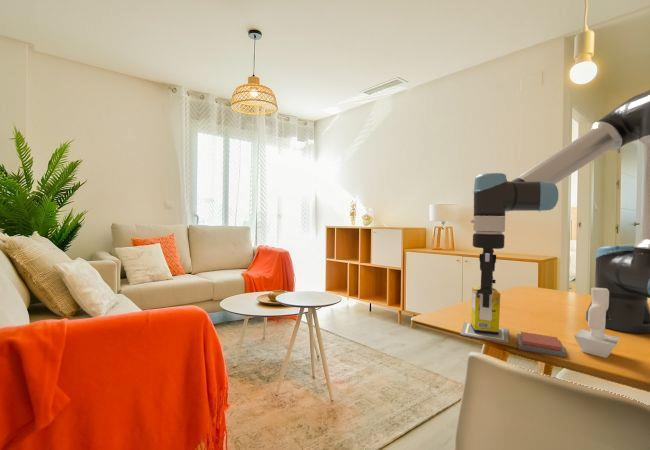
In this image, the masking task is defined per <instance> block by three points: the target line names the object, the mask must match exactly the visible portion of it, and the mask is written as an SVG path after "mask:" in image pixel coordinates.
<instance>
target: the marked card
mask: <svg viewBox="0 0 650 450" xmlns="http://www.w3.org/2000/svg"><path fill="white" fill-rule="evenodd" d="M460 336H464V337H470V338H476V339H482V340H487V341H491V342H497V343H498V342H499V343H504V344H509V343H510V341H509V340H510V338H509V329H508V328H505V327H499V334H498V335H495V334H486V333H476V332H474V330H473V328H472V326H471V322H467V321H466V322H465V321H464V322H463V325H462V328H461V331H460Z"/></svg>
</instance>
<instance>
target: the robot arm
mask: <svg viewBox="0 0 650 450" xmlns="http://www.w3.org/2000/svg"><path fill="white" fill-rule="evenodd" d="M589 128H590V129H589V130H588V131H586V133H583V134H582V135H580V136H579V137H578V138H576V139H575V140H573V141H571V142H570V143H568V144H567V145H566V146H564V147H562V148H561V149H559V150H558V151H556V152H555V153H552V154H551V155H550V156H548V157H546V158H545V159H543V160H542V161H541V162H539V163H537V164H536V165H534V166H533V167H531V168H530V169H528V170H526V171H525V172H523V173H522V174H520V175H518V176H517V177H516V178H514V179H513V180H509V181H508V179H507V175H506V174H505V173H501V172H500V173H499V172H491V173H489V172H488V173H480V174H478V175H476V177H475V179H474V183H473V185H474V186H473V192H472V194H473V219H471V220H470V223H471V224H473V229H472V230H473V231H474V233H473V234H472V246H473V247H474V248H477V249H482V253H479V259H478V260H479V270H480V273H481V274H480V288H481V289H480V290H477V293H480V318H479V319H481V320H488V321H492V288H494V284H496V279H494V276H493V275H494V272H495V268H496V263H497V254H494V253H495V249H496V250H499V249H504V248H505V234H504V232H505V231H506V212H517V211H518V212H521V211H522V212H525V211H526V212H527V211H528V212H529V211H533V212H535V211H537V212H541V211H543V212H544V211H545V212H547V211H552V210H553V209H555V207H556V205H557V204H558V201H559V189H558V186H557V185H556V184H558V183H559V182H561V181H562V180H564V179H565V178H568V176H570V175H572V174H573V173H575V172H577V171H578V170H580V169H582V168H583V167H585V166H586V165H588V164H589V163H591V162H592V161H595V160H596V159H597V158H599V157H600V156H602V155H604V154H605V153H607V152H609V151H612V152H613V151H616V150H618V149H620V148H621V147H623V146H625V145H628V144H630V143H632V142H635V141H638V140H639V142H640V143H642V144H643V145H645V146H646V160H645V161H646V162H645V179H644V201H643V215H642V216H643V218H642V233H641V234H642V236H641V240H640V241H639V242H637V243H635V244H634V245H604V246H599V247H598V249H597V250H596V255H595V257H594V259H595V273H594V274H595V275H594V277H595V278H594V288H607V289H608V290H609V306H608V310H607V311H606V321H605V329H609V330H613V331H618V332H619V331H620V332H623V333H624V332H625V333H633V334H650V306H649V303H648V298H649V299H650V89H649V90H647V91H644V92H642V93H640V94H637V95H635V96H633V97H630V98H629V99H627V100H626V101H624V102H622V103H621V104H620V105H618V106H617V107H615V108H614V109H613V110H611V111H609V113H607V114H606V115H605V116H603V117H601V118H600V119H598V120H597V121H596V122H594V123H593V124H591V126H590V127H589ZM591 304H592V300H591V301H590V303H589V305H588V307H587V309H586V311H585V320H586V321H587V322H588V311H589V308H590V307H591Z"/></svg>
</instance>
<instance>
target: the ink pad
mask: <svg viewBox="0 0 650 450" xmlns="http://www.w3.org/2000/svg"><path fill="white" fill-rule="evenodd" d="M516 336H517V337H516V339H517V346H518V350H520V351H527V352H531V353H538V354H544V355H549V356H556V357H561V358H566V356H567V352H566V349H565V348H564V345H563V344H562V342H561V340H560V339H558V337H556V336H551V335H543V334H539V333H533V332H527V331H526V332H524V331H520V333H516Z"/></svg>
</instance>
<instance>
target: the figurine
mask: <svg viewBox="0 0 650 450" xmlns="http://www.w3.org/2000/svg"><path fill="white" fill-rule="evenodd" d="M590 292H591V301H592V304H591V307H590V308H589V311H588V321H587V327H588V329H589V330H587V329H582V328H581V329H580V330H579V331H578V332H577V333H575V334H574V338H575V340H576V342H577V344H578V346H579V348H580V350H581V351H582V352H583V353H586V354H589V355H593V356H597V357H602V358H604V359H608V357H609V356H610V355H611V353H612V351H613V350H614V349H615V347H616V345H617V343H619V341H620V339H621V337H618V336H613V335H609V334H606V328H605V321H606V311H607V310H608V306H609V290H608V289H607V288H595V287H591V288H590Z"/></svg>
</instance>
